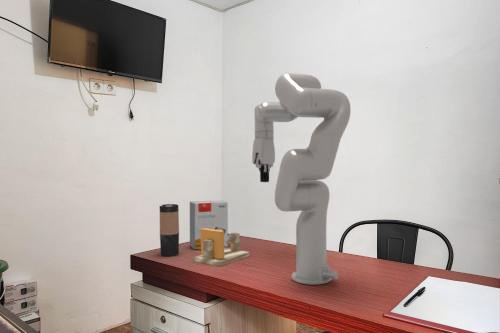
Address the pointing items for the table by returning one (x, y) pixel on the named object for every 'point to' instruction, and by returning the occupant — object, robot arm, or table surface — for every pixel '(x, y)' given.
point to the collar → (218, 241)
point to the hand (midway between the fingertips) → (264, 181)
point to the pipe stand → (229, 254)
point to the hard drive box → (207, 219)
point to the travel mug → (169, 230)
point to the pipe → (228, 238)
